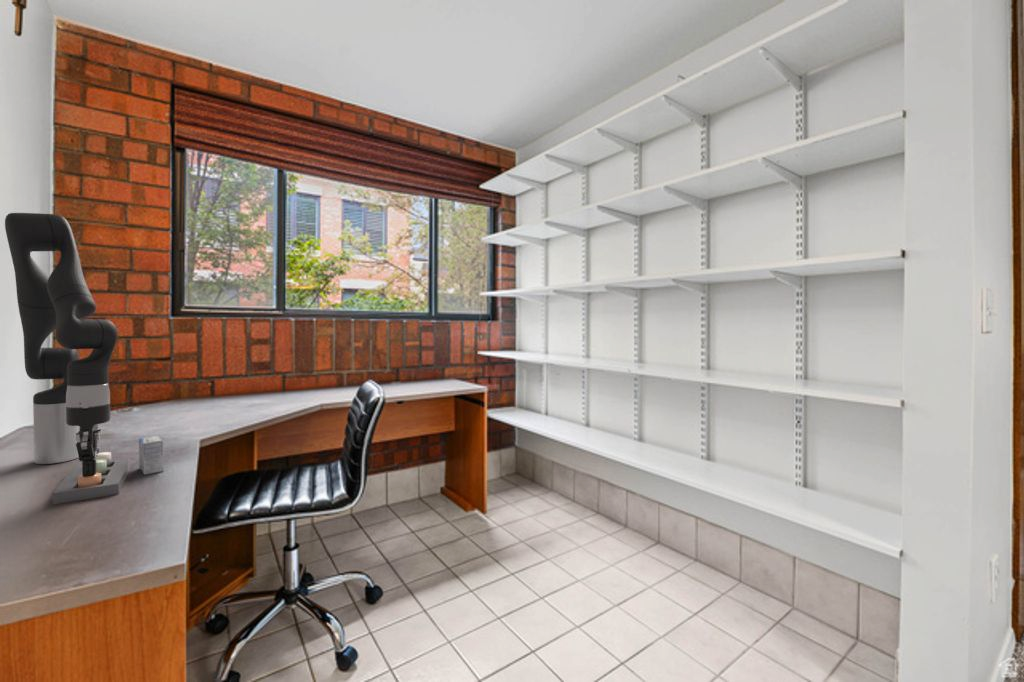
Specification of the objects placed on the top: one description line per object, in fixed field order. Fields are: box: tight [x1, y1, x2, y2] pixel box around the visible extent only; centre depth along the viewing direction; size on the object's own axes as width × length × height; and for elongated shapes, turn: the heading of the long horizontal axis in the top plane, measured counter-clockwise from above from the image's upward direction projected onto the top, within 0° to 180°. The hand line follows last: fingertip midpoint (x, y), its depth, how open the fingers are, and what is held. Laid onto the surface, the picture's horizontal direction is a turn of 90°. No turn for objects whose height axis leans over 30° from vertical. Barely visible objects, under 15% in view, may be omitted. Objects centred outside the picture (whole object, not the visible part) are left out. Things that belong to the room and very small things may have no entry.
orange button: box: [78, 473, 101, 488], centre depth 104 cm, size 4×4×3 cm
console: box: [52, 458, 131, 505], centre depth 111 cm, size 24×11×2 cm, turn 36°
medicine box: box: [138, 435, 165, 475], centre depth 122 cm, size 8×4×9 cm, turn 47°
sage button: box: [96, 459, 107, 474], centre depth 111 cm, size 4×4×3 cm
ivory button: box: [96, 451, 112, 466], centre depth 117 cm, size 4×4×3 cm
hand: (89, 475), depth 104 cm, fingers closed
